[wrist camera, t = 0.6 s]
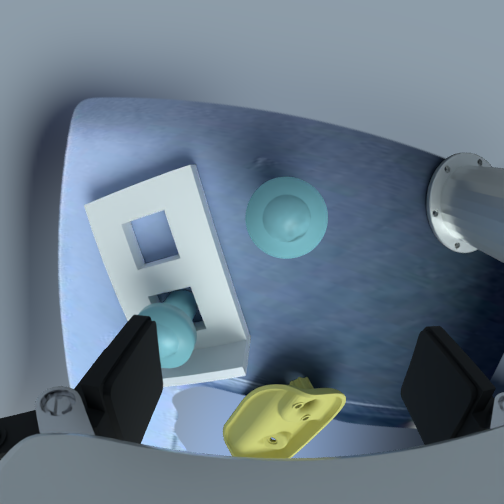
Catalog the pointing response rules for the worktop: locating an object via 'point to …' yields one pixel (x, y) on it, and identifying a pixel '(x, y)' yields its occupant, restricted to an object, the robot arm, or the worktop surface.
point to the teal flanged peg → (174, 327)
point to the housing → (175, 269)
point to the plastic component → (280, 419)
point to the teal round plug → (286, 217)
